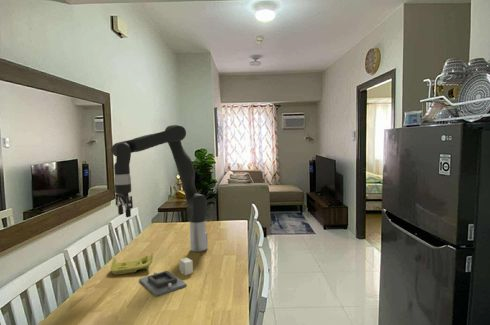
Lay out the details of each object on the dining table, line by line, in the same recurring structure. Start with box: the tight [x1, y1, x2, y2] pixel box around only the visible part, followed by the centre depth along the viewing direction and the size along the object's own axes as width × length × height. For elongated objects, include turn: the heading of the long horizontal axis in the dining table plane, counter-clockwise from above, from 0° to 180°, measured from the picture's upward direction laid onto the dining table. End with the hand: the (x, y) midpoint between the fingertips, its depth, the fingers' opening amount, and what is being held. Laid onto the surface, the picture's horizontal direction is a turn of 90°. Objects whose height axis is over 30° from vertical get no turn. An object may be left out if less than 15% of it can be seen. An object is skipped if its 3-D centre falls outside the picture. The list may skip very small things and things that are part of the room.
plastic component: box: [110, 252, 154, 275], centre depth 151 cm, size 20×7×10 cm
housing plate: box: [138, 270, 187, 297], centre depth 135 cm, size 14×19×3 cm
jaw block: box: [178, 257, 194, 276], centre depth 147 cm, size 4×6×6 cm, turn 39°
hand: (124, 215), depth 149 cm, fingers open, 8 cm apart
